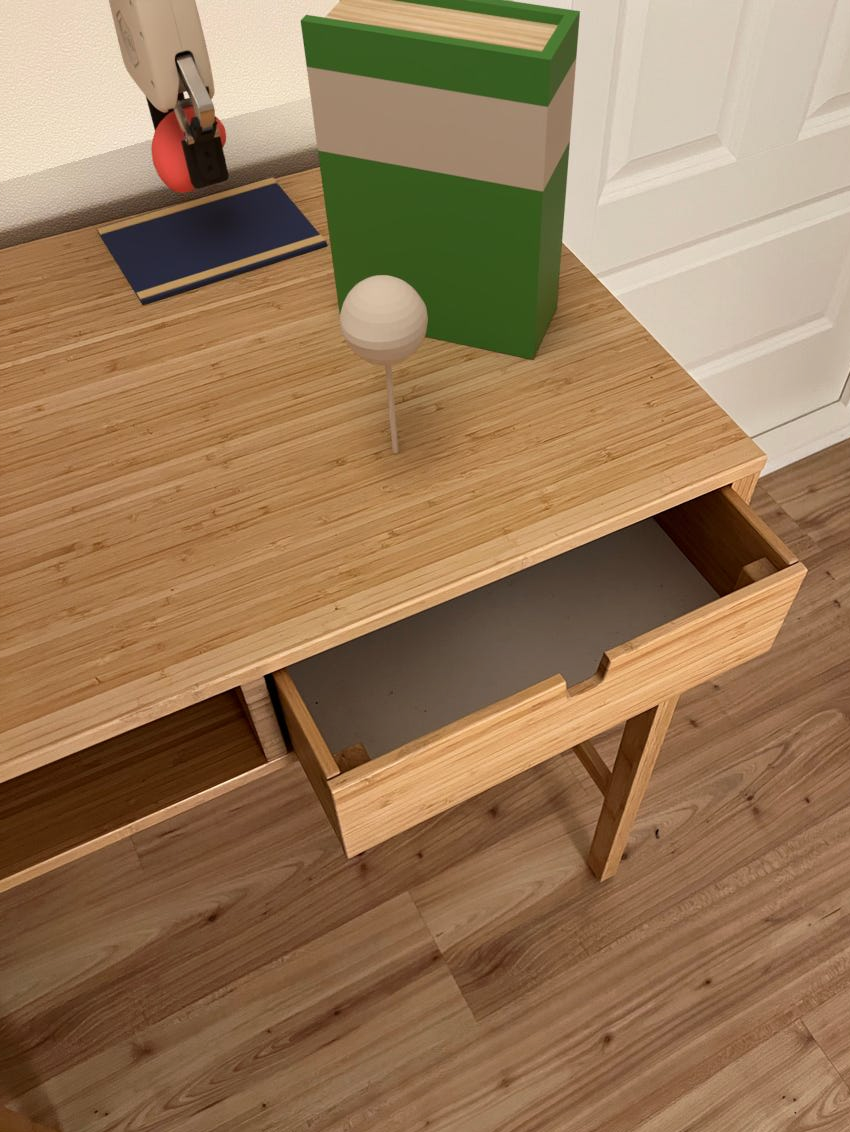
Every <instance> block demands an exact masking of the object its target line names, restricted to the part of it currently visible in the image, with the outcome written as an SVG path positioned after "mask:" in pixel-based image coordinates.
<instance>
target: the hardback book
mask: <svg viewBox="0 0 850 1132" xmlns="http://www.w3.org/2000/svg"><path fill="white" fill-rule="evenodd" d="M580 15H581V11H580V10H574V9H568V8H561V7H556V6H555V7H554V6H548V5H540V4H535V3H534V4H533V3H527V2H521V1H513V0H339V1H338V2H337V3H336V5H334V7H333V8H332V9H331V10H330V11H329V12H328V13H327V14H326V15H325V16H316V15H311V14H305V15H304V16H303V17H302V18H301V19H300V27H301V35H302V43H303V49H304V57H305V65H306V72H307V79H308V88H309V96H310V102H311V109H312V117H313V125H314V134H315V141H316V148H317V155H318V163H319V170H320V171H319V172H320V178H321V184H322V185H321V186H322V192H323V200H324V207H325V215H326V222H327V223H326V224H327V229H328V230H327V231H328V238H329V245H330V246H329V247H330V253H331V259H332V260H331V261H332V267H333V275H334V282H335V290H336V299H337V306H338V312H339V314H340V313H341V309H342V306H343V303H344V301H345V299H346V297H347V295H348V293H349V292H350V291H351V290H352V289H353V288H354V286H355V285H356V284H358V283H359V282H361V281H363V280H365V279H367V278H369V277H372V276H377V275H388V276H393V277H396V278H399V279H401V280H403V281H405V282H406V283H408V284H409V285H410V286H411V287H413V288H414V290H415V291H416V292H417V293H418V295H419V296H420V297H421V299H422V300H423V302H424V304H425V306H426V310H427V316H428V322H427V329H426V334H425V337H426V338H431V339H436V340H440V341H444V342H449V343H454V344H457V345H463V346H468V347H473V348H477V349H481V350H487V351H490V352H495V353H500V354H506V355H510V356H514V357H518V358H522V359H523V358H524V359H528V360H529V359H530V360H533V361H534V359H535V357H536V355H537V353H538V351H539V349H540V346H541V344H542V342H543V340H544V337H545V335H546V333H547V331H548V329H549V326H550V325H551V322H552V320H553V318H554V315H555V313H556V311H557V310H558V299H559V288H560V275H561V263H562V262H561V261H562V248H563V236H564V225H565V224H564V222H565V211H566V198H567V184H568V171H569V158H570V144H571V133H572V120H573V107H574V94H575V81H576V68H577V55H578V42H579V27H580V17H581V16H580ZM425 337H424V338H425Z"/></svg>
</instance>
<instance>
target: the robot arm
mask: <svg viewBox="0 0 850 1132" xmlns="http://www.w3.org/2000/svg"><path fill="white" fill-rule="evenodd" d="M108 3H109V7H110V12H111V16H112V20H113V25H114V29H115V33H116V37H117V42H118V45H119V50H120V54H121V58H122V61H123V65H124V67H125V69H126V72H127V73H128V75H129V76H130V77H131V79H132V80H133V81H134V83H135V84H136V86H137V87H138V88H139V89H140V91H141V92H142V93H143V94H144V96H145V99H146V102H147V106H148V111H149V115H150V118H151V121H152V126H153V129H154V131H155V130H156V128H157V127H158V125H159V123H160V122H161V121H162V120H163V119H164V118H165V117H166V116H167V115H168V114H169V113H171V112H172V111H174V112H175V114H176V117H177V120H178V122H179V125H180V128H181V131H182V133H183V136H184V139H185V140H183V141H181V144H182V148H183V152H184V156H185V160H186V164H187V168H188V172H189V176H190V180H191V183H192V185H193V186H194V188H195V189H197V190H199V189H202V188H206V187H210V186H213V185H217V184H220V183H223V182H226V181H227V180H229V177H230V175H229V171H228V166H227V161H226V156H225V152H224V147H222V142H221V137H220V132H219V128H218V125H217V124H218V123H217V122H216V117H217V116H216V110H215V106H214V103H213V98H214V96H215V92H216V91H215V82H214V77H213V70H212V66H211V61H210V55H209V52H208V47H207V42H206V39H205V38H206V37H205V34H204V30H203V26H202V22H201V17H200V14H199V10H198V6H197V2H196V0H108ZM185 92H186V93H187V95H188V97H187V98H186V97H185ZM190 108H194V114H195V116H196V117H192V118H191V122H190V126H189V123H188V120H187V117H186V115H185V112H184V110H186V109H190ZM215 116H216V117H215Z"/></svg>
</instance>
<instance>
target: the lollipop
mask: <svg viewBox="0 0 850 1132" xmlns="http://www.w3.org/2000/svg"><path fill="white" fill-rule="evenodd" d="M427 322H428V316H427V310H426V306H425V304H424V302H423V300H422V299H421V297H420V296H419V295H418V293H417V292H416V291H415V290H414V288H413V287H411V286H410V285H409V284H408V283H406V282H405V281H403V280H401V279H399V278H396V277H393V276H388V275H377V276H372V277H369V278H367V279H365V280H363V281H361V282H359V283H358V284H356V285H355V286H354V288H353V289H352V290H351V291H350V292H349V293H348V295H347V297H346V299H345V301H344V303H343V306H342V309H341V313H339V327H340V331H341V335H342V336H343V338H344V341H345V342H346V344H347V346H348V347H349V348H350V349H351V351H352V352H353V353H354V355H356V356H357V357H358V358H360V359H361V360H363V361H365V362H367V363H369V364H372V365H374V366H384V372H385V384H386V394H387V404H388V415H389V427H390V436H391V437H390V438H391V449H392V453H393V454H398V453H399V452H400V451H399V441H398V440H399V439H398V429H397V417H396V405H395V392H394V381H393V370H392V366H394V365H398V364H401V363H403V362H405V361H407V360H408V359H410V358H411V357H412V356H413V355H414V354H416V353H417V352H418V350H419V349H420V347H421V346H422V345H423V342H424V340H425V334H426V329H427Z"/></svg>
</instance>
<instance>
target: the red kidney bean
mask: <svg viewBox="0 0 850 1132" xmlns="http://www.w3.org/2000/svg"><path fill="white" fill-rule="evenodd" d="M184 112H185V115H186V117H187V120H188V123H189V126H190V122H191V118H192V117H196V116H195V114H194V108H190V109H186V110H184ZM215 117H216V122H217V123H218V124H217V125H218V128H219V132H220V137H221V142H222V147H223V148H224V147H225V145H226V142H227V131H226V127H225V126H224V124H223V123H222V121H221V120H220V118H218V117H217V116H216V115H215ZM183 140H185V139H184V136H183V133H182V131H181V128H180V125H179V122H178V120H177V117H176V114H175V112H174V111H172V112H171V113H169V114H168V115H167V116H166V117H165V118H164V119H163V120H162V121H161V122H160V123H159V125H158V127H157V128H156V130H155V129H154V133H153V137H152V141H151V148H150V149H151V157H152V164H153V167H154V169H155V171H156V174H157V175H158V177H159V178H160V180H161V181H162V183H163V184H164V185H165V186H166V187H168V188H169V189H170V190H171V191H173V192H176V193H180V194H185V193H190V192H192V191H194V189H196V188H194V186H193V185H192V183H191V180H190V176H189V172H188V168H187V164H186V160H185V156H184V152H183V148H182V144H181V141H183Z"/></svg>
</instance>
